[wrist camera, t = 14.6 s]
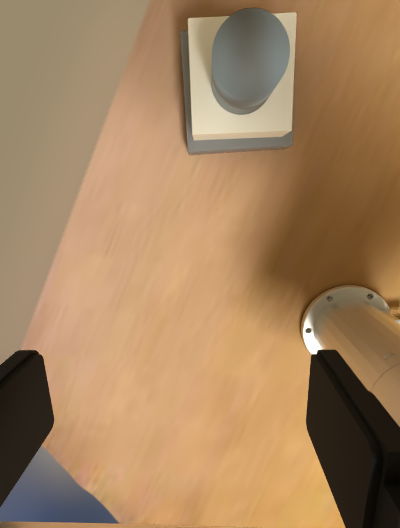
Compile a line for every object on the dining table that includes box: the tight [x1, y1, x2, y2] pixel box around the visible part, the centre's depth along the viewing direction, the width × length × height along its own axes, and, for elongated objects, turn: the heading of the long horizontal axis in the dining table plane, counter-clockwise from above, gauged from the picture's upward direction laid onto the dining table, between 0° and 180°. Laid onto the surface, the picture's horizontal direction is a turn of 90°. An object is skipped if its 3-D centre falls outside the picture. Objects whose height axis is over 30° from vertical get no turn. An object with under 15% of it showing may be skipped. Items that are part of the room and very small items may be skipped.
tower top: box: [188, 12, 297, 140], centre depth 30 cm, size 10×10×4 cm
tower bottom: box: [180, 30, 294, 155], centre depth 34 cm, size 12×12×4 cm
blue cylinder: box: [211, 8, 290, 115], centre depth 26 cm, size 6×6×6 cm
